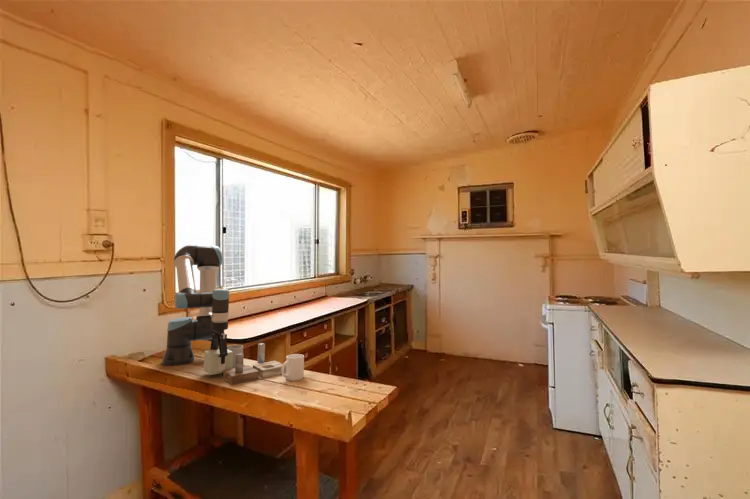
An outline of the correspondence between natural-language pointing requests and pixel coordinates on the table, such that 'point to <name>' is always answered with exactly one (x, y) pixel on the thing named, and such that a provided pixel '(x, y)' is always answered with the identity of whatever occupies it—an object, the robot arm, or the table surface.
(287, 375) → the mug
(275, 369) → the square block with hole
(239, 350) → the mug
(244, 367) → the board
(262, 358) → the pin
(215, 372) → the block
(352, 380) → the table surface
